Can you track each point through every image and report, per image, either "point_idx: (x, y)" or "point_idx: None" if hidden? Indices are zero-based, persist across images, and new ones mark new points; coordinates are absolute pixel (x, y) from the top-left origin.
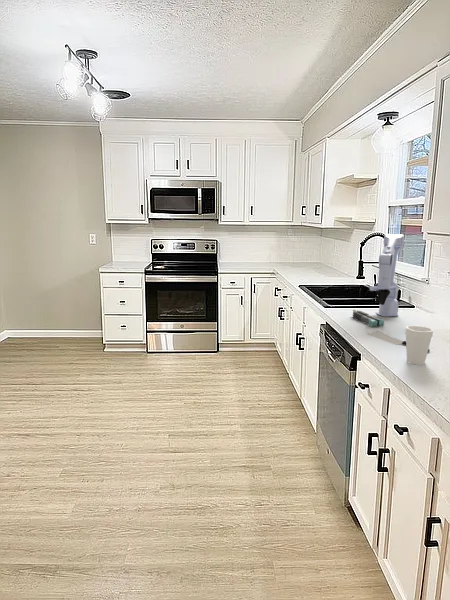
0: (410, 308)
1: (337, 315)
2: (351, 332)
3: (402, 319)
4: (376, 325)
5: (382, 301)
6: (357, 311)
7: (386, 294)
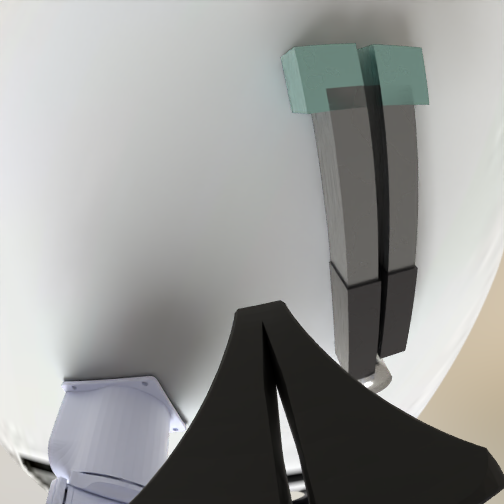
0: (28, 454)
1: (428, 361)
2: None
3: (42, 316)
4: (359, 50)
5: (300, 328)
6: (374, 367)
7: (246, 486)
